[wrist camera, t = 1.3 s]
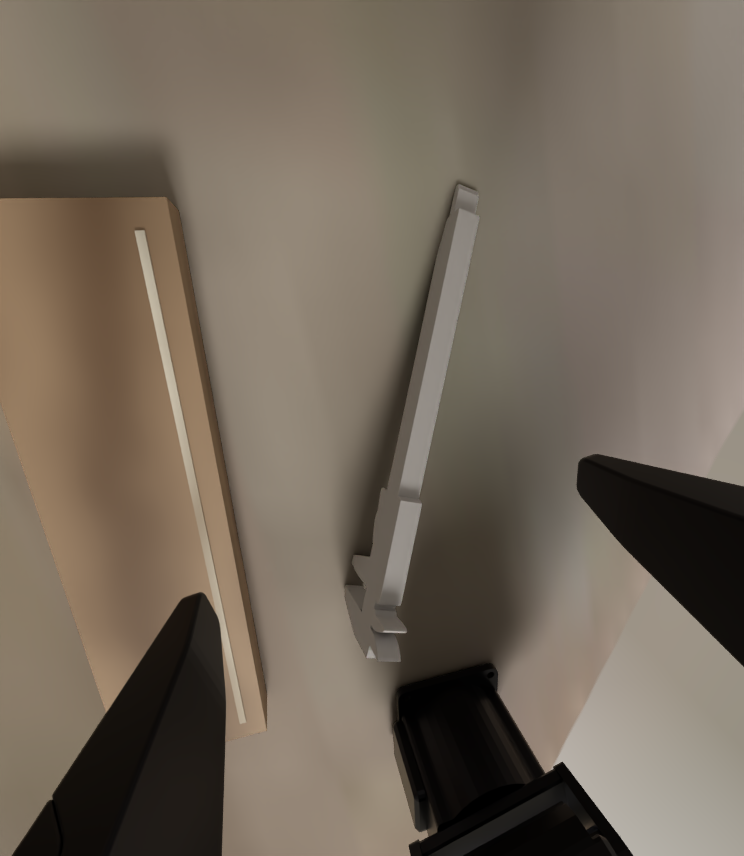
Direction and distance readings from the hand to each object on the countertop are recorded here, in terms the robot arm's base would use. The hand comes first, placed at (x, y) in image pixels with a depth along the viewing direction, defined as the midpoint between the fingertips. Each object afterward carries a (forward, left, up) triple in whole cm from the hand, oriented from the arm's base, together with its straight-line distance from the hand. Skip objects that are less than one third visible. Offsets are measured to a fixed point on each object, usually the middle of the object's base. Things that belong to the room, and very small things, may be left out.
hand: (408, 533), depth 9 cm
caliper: (-3, 0, -11) cm, 11 cm away
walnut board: (+9, +3, -11) cm, 14 cm away
